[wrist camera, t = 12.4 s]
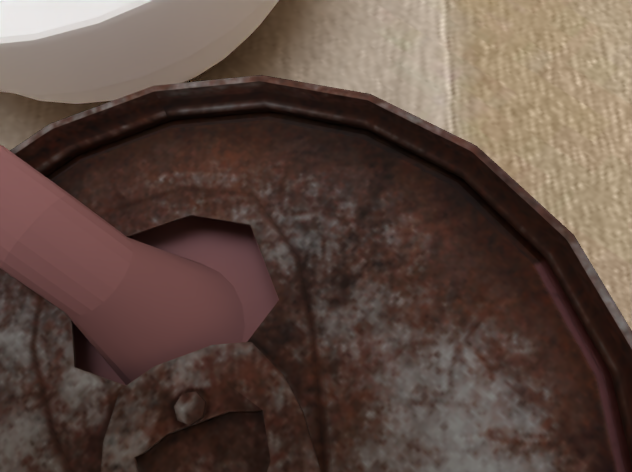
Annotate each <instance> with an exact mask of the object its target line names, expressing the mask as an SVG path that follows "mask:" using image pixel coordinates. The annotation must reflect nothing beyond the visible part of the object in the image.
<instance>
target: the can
mask: <svg viewBox="0 0 632 472" xmlns="http://www.w3.org/2000/svg"><path fill="white" fill-rule="evenodd" d="M0 472H632V331H631V329H630V327H629V326H628V324H627V322H626V321H625V319H624V317H623V316H622V314H621V312H620V311H619V309H618V307H617V306H616V304H615V302H614V301H613V299H612V297H611V296H610V294H609V293H608V291H607V289H606V288H605V286H604V284H603V283H602V281H601V279H600V278H599V276H598V274H597V273H596V271H595V269H594V268H593V266H592V264H591V263H590V261H589V259H588V258H587V256H586V254H585V253H584V251H583V249H582V248H581V246H580V244H579V243H578V241H577V239H576V238H575V236H574V235H573V234H572V233H571V232H570V231H569V230H568V229H567V228H566V227H565V226H564V225H562V224H561V223H560V222H559V221H558V220H557V219H556V218H555V217H554V216H553V215H552V214H550V213H549V212H548V211H547V210H546V209H545V208H544V207H543V206H542V205H541V204H540V203H538V202H537V201H536V200H535V199H534V198H533V197H532V196H531V195H530V194H529V193H527V192H526V191H525V190H524V189H523V188H522V187H521V186H520V185H519V184H518V183H517V182H515V181H514V180H513V179H512V178H511V177H510V176H509V175H508V174H507V173H506V172H505V171H503V170H502V169H501V168H500V167H499V166H498V165H497V164H496V163H495V162H494V161H493V160H491V159H490V158H489V157H488V156H487V155H486V154H485V153H484V152H483V151H482V150H480V149H479V148H478V147H477V146H476V145H474V144H472V143H470V142H467V141H465V140H463V139H461V138H459V137H457V136H455V135H453V134H451V133H449V132H447V131H445V130H443V129H441V128H439V127H437V126H435V125H433V124H431V123H429V122H427V121H424V120H422V119H420V118H418V117H416V116H414V115H412V114H410V113H408V112H406V111H404V110H402V109H400V108H398V107H396V106H394V105H392V104H390V103H388V102H386V101H383V100H381V99H379V98H377V97H375V96H373V95H371V94H367V93H361V92H355V91H350V90H344V89H338V88H332V87H327V86H321V85H315V84H309V83H304V82H298V81H292V80H286V79H281V78H275V77H269V76H263V75H258V76H248V77H238V78H227V79H217V80H207V81H197V82H186V83H176V84H166V85H156V86H151V87H149V88H146V89H143V90H141V91H138V92H135V93H132V94H130V95H127V96H124V97H121V98H119V99H116V100H113V101H111V102H108V103H105V104H102V105H100V106H97V107H94V108H92V109H89V110H86V111H83V112H81V113H78V114H75V115H72V116H70V117H67V118H64V119H62V120H59V121H56V122H53V123H51V124H49V125H47V126H46V127H44V128H43V129H41V130H40V131H38V132H37V133H35V134H34V135H32V136H31V137H29V138H28V139H26V140H25V141H23V142H22V143H20V144H19V145H17V146H16V147H15V148H13V149H12V150H10V151H9V150H8V149H6V148H5V147H4V146H1V145H0Z"/></svg>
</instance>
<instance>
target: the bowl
mask: <svg viewBox="0 0 632 472" xmlns="http://www.w3.org/2000/svg"><path fill="white" fill-rule="evenodd" d="M278 1H279V0H0V92H8V93H15V94H18V95H22V96H25V97H28V98H32V99H35V100H38V101H48V102H60V103H71V104H82V103H93V102H104V101H113V100H116V99H119V98H121V97H124V96H127V95H130V94H132V93H135V92H138V91H141V90H143V89H146V88H149V87H151V86H156V85H166V84H176V83H183V82H185V81H188V80H190V79H192V78H195V77H197V76H198V75H200V74H201V73H203V72H204V71H206V70H208V69H209V68H211V67H212V66H214V65H215V64H217V63H219V62H220V61H222V60H223V59H225V58H226V57H227V56H228V55H229V54H230V53H231V52H232V51H234V50H235V49H236V48H237V47H238V46H239V45H240V44H241V43H242V42H244V41H245V40H246V39H247V38H248V37H249V36H250V35H251V34H252V33H253V32H254V31H255V30H256V28H257V27H258V26H259V25H260V24H261V23H262V22H263V20H264V19H265V18H266V17H267V15H268V14H269V13H270V11H271V10H272V9H273V8H274V6H275V5H276V4H277V2H278Z"/></svg>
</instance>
